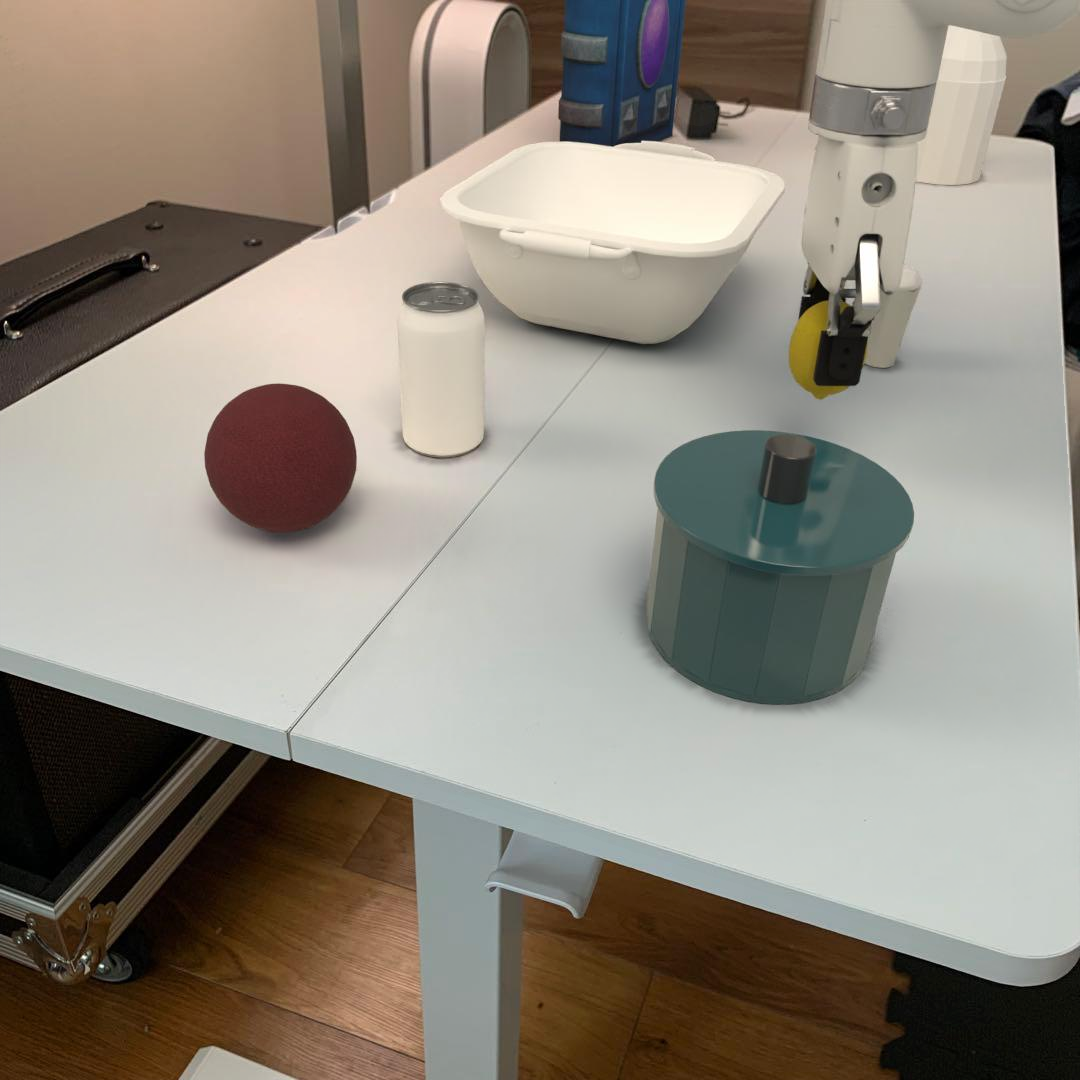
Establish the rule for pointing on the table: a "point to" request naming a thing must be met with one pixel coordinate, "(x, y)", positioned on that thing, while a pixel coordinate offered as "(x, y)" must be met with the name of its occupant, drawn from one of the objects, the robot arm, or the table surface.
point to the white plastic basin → (610, 233)
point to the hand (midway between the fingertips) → (825, 363)
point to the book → (619, 70)
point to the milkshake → (892, 320)
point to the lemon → (811, 349)
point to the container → (962, 108)
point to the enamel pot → (759, 623)
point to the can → (441, 368)
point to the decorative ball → (280, 457)
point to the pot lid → (783, 502)
